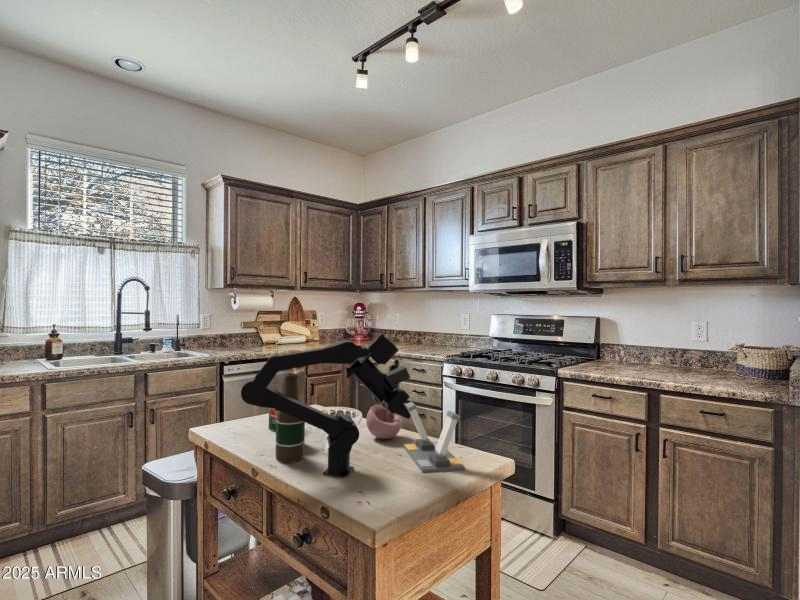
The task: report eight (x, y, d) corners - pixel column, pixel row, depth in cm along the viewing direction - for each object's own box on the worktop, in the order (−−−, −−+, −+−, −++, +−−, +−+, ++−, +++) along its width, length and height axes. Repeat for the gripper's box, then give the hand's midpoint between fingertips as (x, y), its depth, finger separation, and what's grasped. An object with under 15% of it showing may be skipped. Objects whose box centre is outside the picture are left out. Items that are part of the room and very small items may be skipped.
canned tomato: (270, 432, 153) (271, 399, 153) (266, 426, 160) (267, 395, 160) (293, 430, 156) (294, 398, 156) (289, 424, 164) (290, 393, 164)
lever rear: (424, 444, 136) (408, 408, 135) (420, 440, 141) (405, 404, 139) (431, 441, 137) (415, 404, 136) (426, 436, 141) (411, 401, 140)
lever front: (437, 457, 123) (453, 414, 124) (432, 452, 127) (447, 410, 128) (444, 460, 123) (460, 416, 124) (439, 454, 127) (454, 412, 128)
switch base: (422, 472, 120) (422, 463, 120) (402, 446, 141) (402, 439, 141) (464, 469, 122) (465, 461, 122) (439, 444, 144) (439, 437, 144)
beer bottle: (289, 465, 123) (291, 377, 123) (269, 459, 127) (271, 374, 127) (309, 457, 130) (311, 373, 130) (289, 452, 134) (291, 371, 134)
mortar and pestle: (386, 446, 141) (387, 409, 141) (358, 438, 148) (359, 403, 148) (409, 437, 150) (410, 403, 150) (381, 431, 157) (382, 398, 158)
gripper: (402, 359, 114) (442, 402, 116) (383, 353, 132) (418, 390, 134) (371, 391, 111) (412, 434, 114) (356, 380, 129) (392, 418, 132)
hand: (409, 417), depth 124 cm, fingers closed
